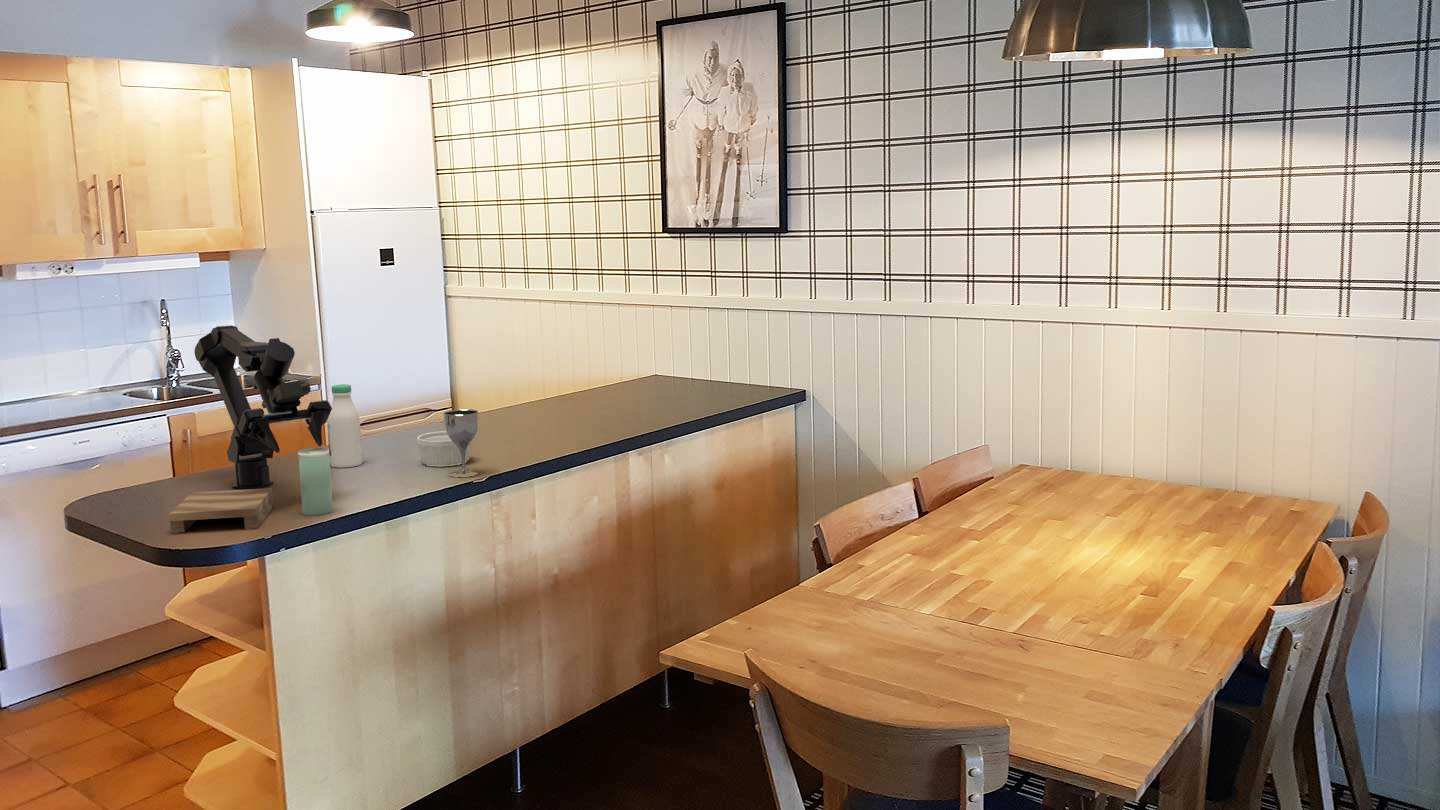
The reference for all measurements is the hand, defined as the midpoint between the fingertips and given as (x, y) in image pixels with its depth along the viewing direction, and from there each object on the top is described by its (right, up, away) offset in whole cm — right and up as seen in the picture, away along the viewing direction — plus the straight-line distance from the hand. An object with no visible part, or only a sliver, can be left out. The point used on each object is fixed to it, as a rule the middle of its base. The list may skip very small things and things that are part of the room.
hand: (299, 448), depth 245 cm
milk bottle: (-4, -6, +43) cm, 44 cm away
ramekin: (+20, -6, +44) cm, 49 cm away
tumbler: (+5, -13, -3) cm, 14 cm away
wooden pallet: (-12, -14, -8) cm, 21 cm away
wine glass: (+28, -8, +31) cm, 42 cm away
